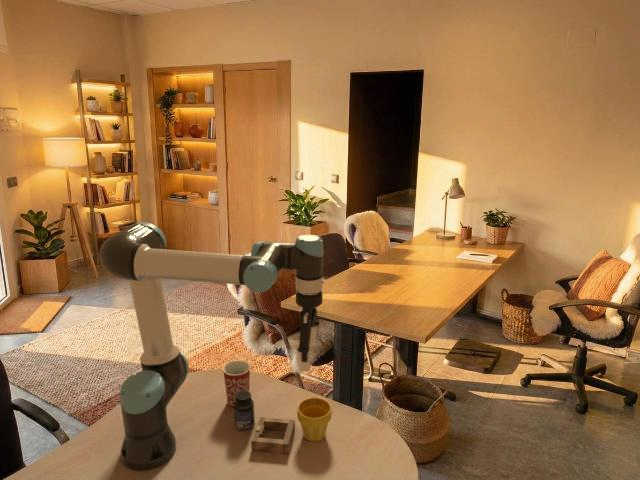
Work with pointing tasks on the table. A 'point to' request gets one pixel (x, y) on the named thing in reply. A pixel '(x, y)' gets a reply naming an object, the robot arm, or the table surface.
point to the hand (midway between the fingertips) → (308, 357)
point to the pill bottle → (244, 411)
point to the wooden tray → (273, 444)
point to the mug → (236, 379)
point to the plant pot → (314, 417)
